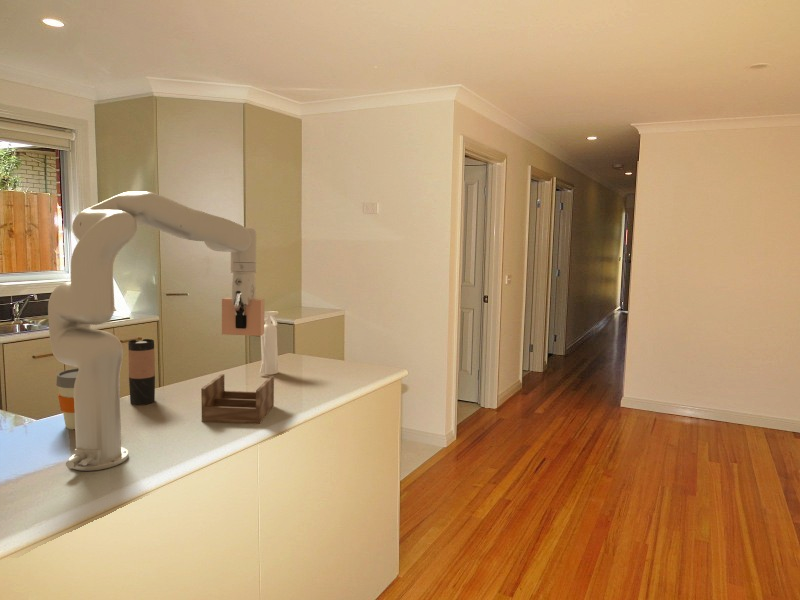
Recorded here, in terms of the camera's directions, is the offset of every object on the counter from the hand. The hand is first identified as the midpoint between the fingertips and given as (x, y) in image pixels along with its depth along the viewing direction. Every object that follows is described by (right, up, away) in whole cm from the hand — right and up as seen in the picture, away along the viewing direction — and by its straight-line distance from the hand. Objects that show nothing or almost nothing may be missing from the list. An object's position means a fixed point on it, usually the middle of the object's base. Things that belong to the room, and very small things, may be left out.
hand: (243, 326), depth 170 cm
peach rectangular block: (0, -2, 0) cm, 2 cm away
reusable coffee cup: (-41, -27, -14) cm, 51 cm away
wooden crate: (-1, -27, -1) cm, 27 cm away
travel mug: (-35, -25, +8) cm, 43 cm away
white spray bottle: (-4, -21, +49) cm, 53 cm away
